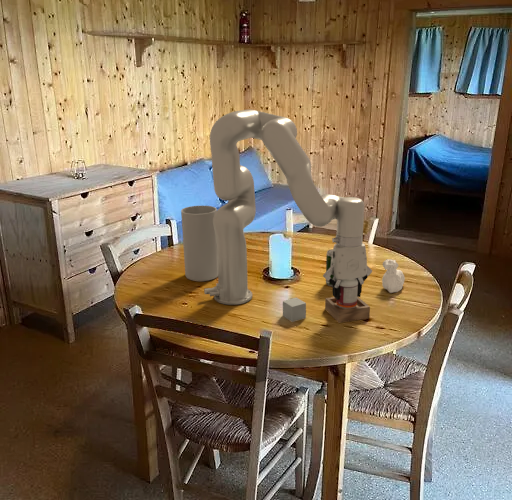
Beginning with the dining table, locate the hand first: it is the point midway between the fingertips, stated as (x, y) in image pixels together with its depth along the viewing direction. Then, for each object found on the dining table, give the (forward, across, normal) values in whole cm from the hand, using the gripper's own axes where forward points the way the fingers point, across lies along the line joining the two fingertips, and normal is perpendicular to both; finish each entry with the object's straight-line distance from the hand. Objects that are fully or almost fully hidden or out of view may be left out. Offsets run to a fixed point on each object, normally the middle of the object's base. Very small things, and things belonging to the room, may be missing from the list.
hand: (346, 296), depth 158 cm
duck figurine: (+6, +23, +13) cm, 27 cm away
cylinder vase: (+6, -36, +46) cm, 59 cm away
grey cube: (+6, -16, +3) cm, 17 cm away
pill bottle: (+3, 0, 0) cm, 3 cm away
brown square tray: (+6, 0, 0) cm, 6 cm away
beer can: (+6, +6, +23) cm, 24 cm away
